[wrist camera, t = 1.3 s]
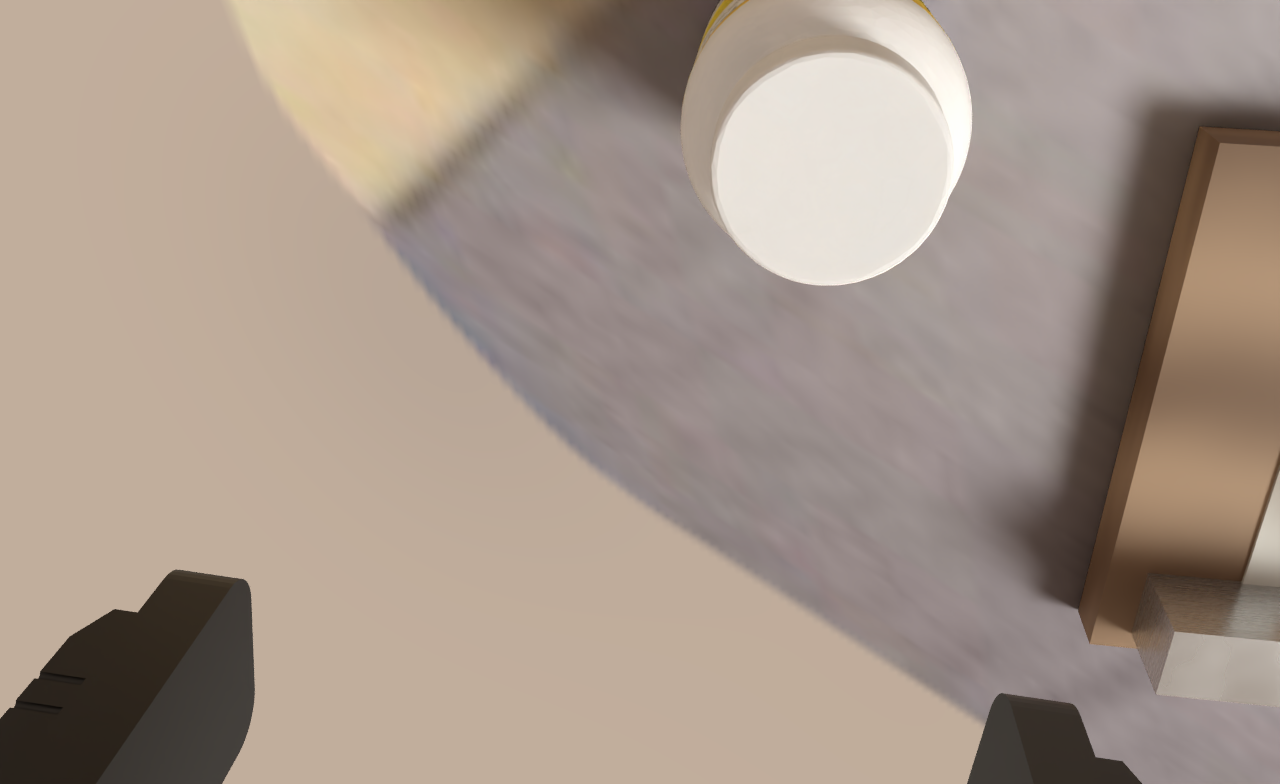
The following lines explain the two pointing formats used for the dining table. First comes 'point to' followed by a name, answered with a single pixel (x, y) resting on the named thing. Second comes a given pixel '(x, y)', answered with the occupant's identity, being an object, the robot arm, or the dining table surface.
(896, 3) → the supplement bottle
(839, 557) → the dining table surface
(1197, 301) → the brown flat wooden board
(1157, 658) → the metal straightedge
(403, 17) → the dining table surface
